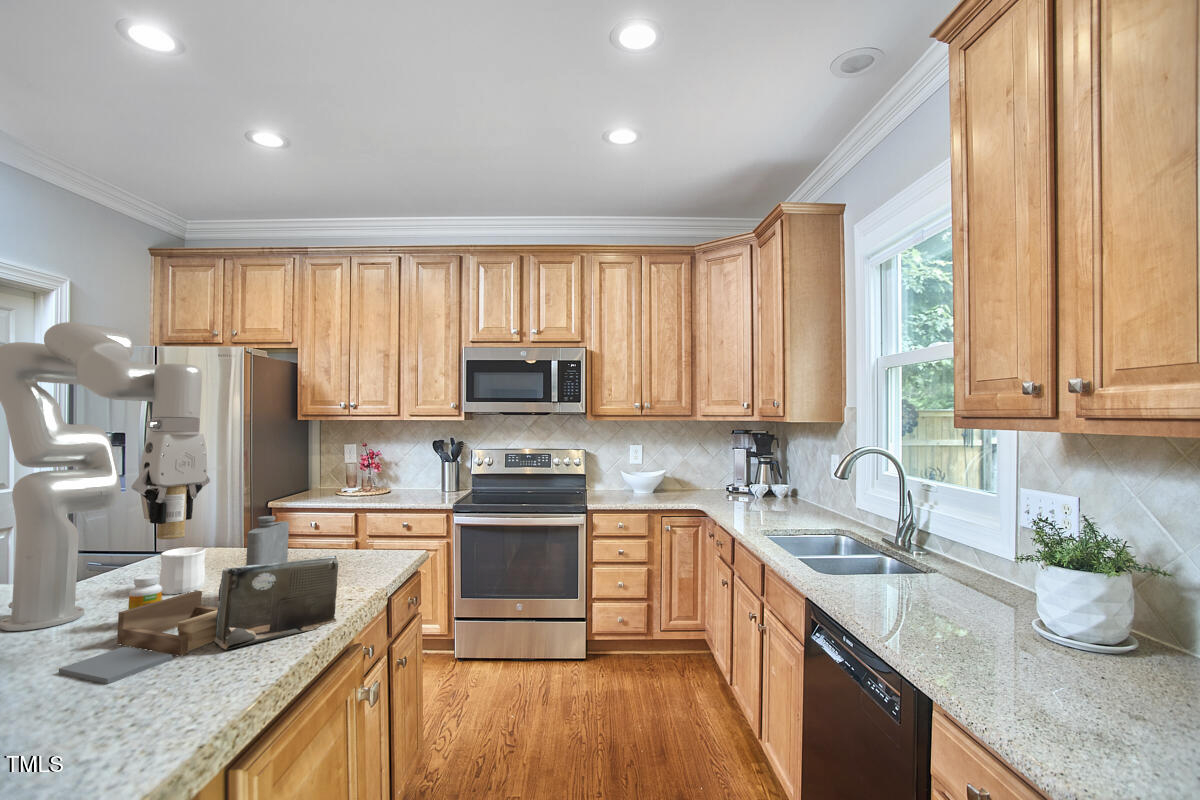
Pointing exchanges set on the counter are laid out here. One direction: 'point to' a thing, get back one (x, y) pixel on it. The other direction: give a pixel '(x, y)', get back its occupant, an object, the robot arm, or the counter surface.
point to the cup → (182, 570)
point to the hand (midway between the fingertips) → (171, 520)
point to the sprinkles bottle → (174, 513)
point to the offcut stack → (199, 629)
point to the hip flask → (268, 542)
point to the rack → (160, 623)
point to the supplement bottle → (145, 591)
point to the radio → (275, 600)
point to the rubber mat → (115, 664)
